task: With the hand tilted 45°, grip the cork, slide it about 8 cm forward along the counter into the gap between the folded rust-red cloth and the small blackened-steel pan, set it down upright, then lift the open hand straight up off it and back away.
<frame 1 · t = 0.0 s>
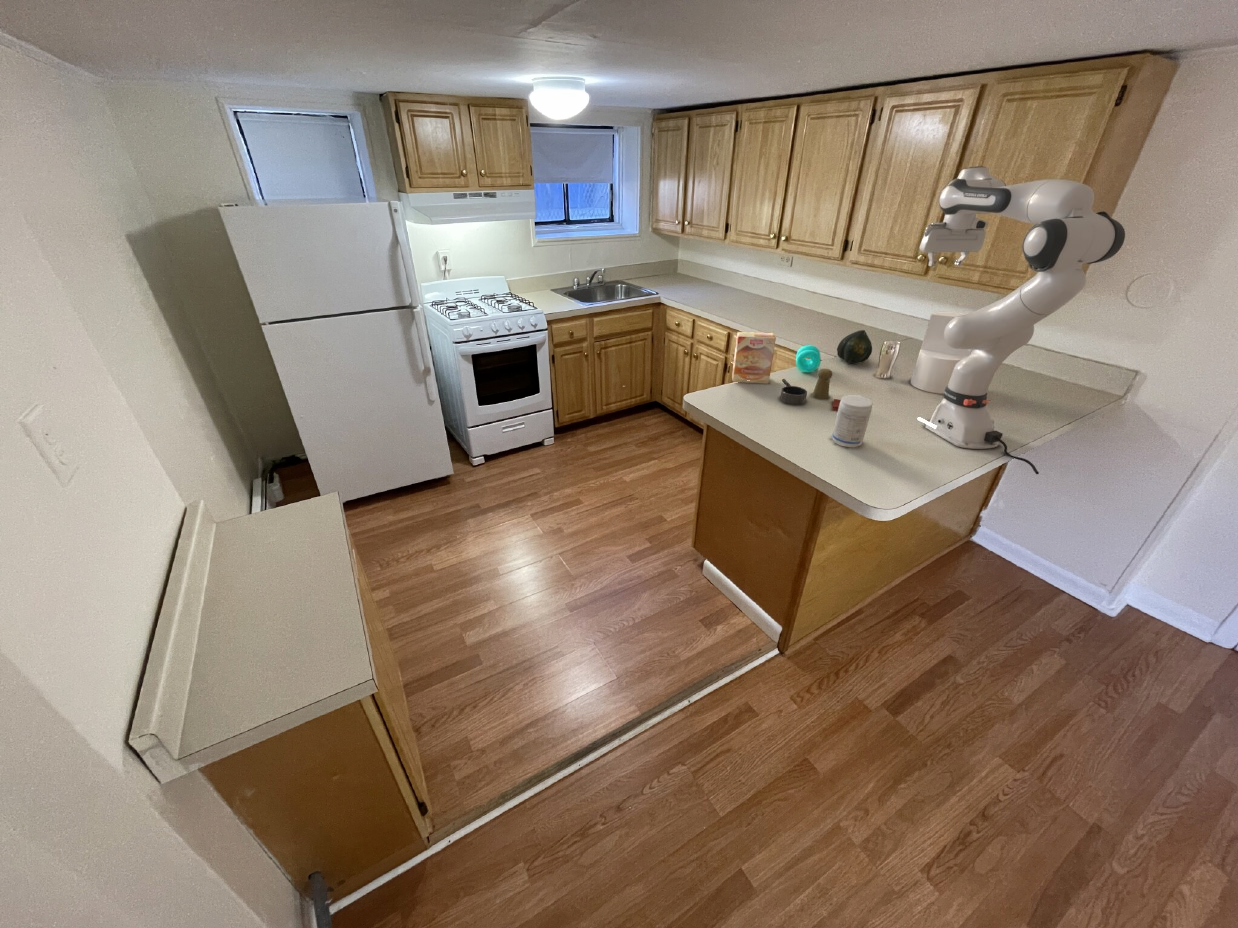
hand: (944, 266, 178), 48 cm above the counter, tool pointing down, fingers open, 8 cm apart
pan: (792, 400, 197), on the counter
beer glass: (882, 377, 218), on the counter
supplement tub: (846, 442, 168), on the counter
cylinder: (933, 386, 209), on the counter
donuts: (805, 370, 226), on the counter
coffeecake box: (749, 380, 215), on the counter
cork: (820, 396, 200), on the counter
squash: (851, 361, 235), on the counter
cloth: (842, 407, 191), on the counter
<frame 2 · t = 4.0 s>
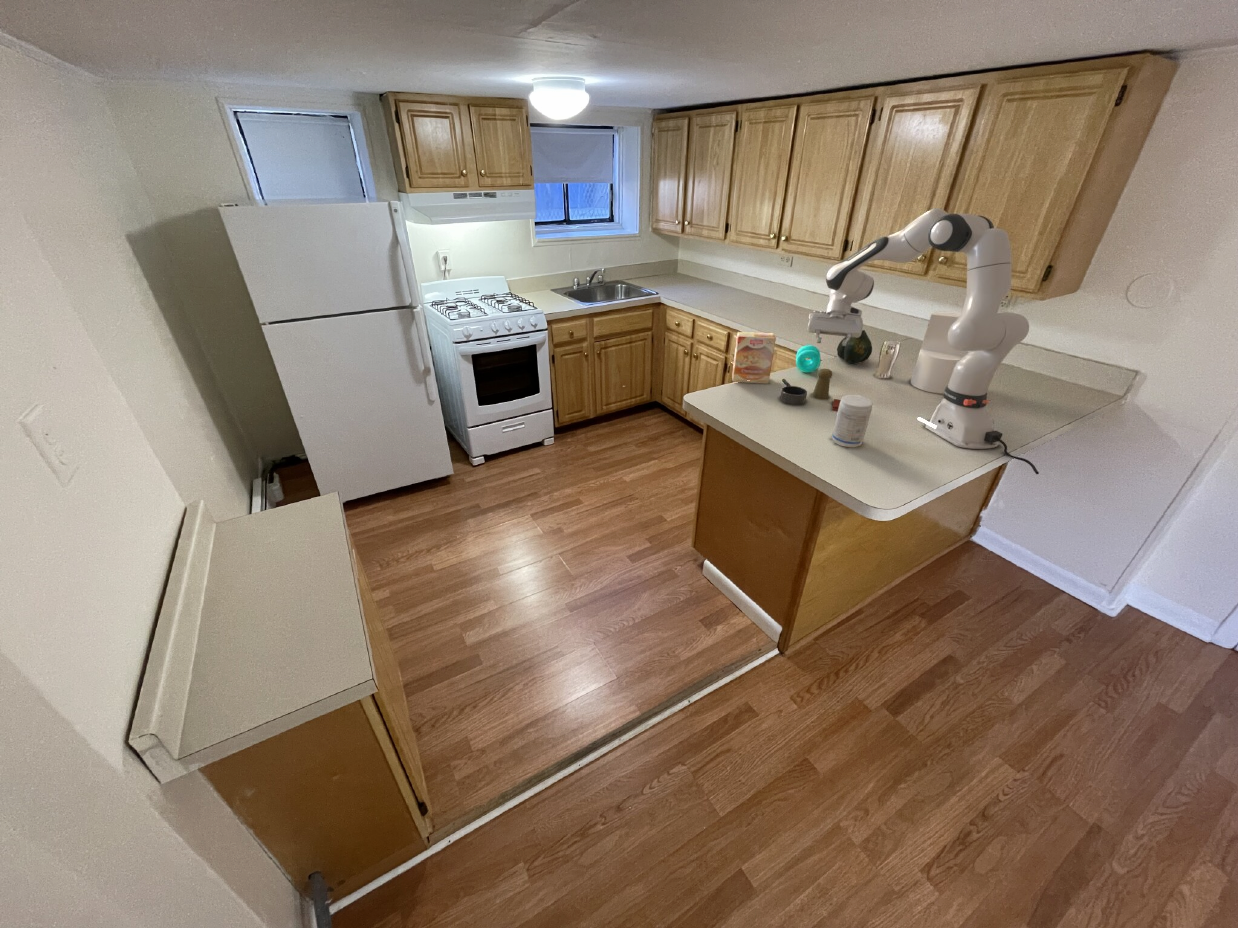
hand: (831, 343, 201), 18 cm above the counter, tool tilted 45°, fingers open, 8 cm apart
nothing on the counter moved.
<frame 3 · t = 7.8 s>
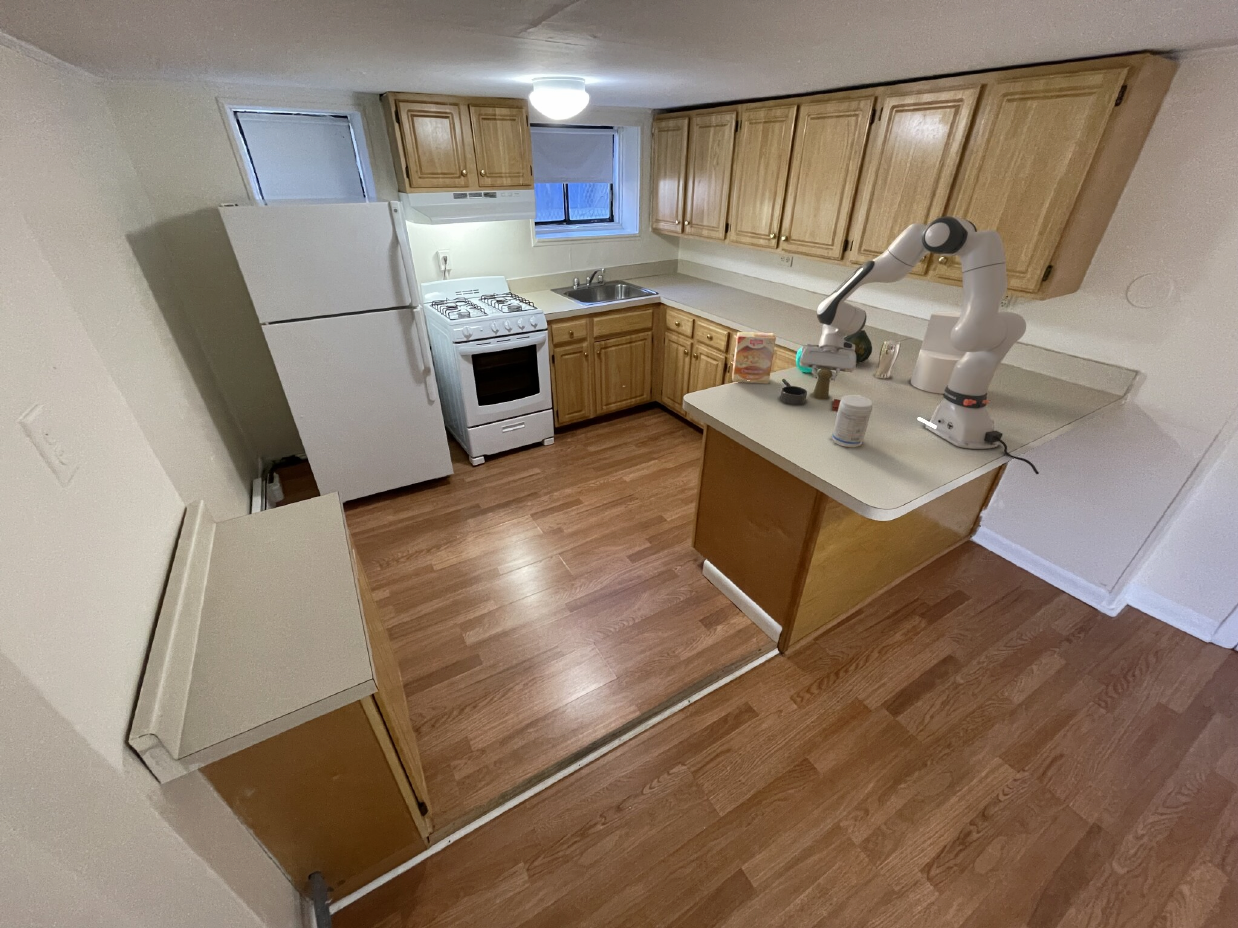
hand: (824, 378, 195), 8 cm above the counter, tool tilted 45°, fingers closed on cork, 5 cm apart
cork: (820, 396, 200), on the counter, touching gripper
everything else where it was.
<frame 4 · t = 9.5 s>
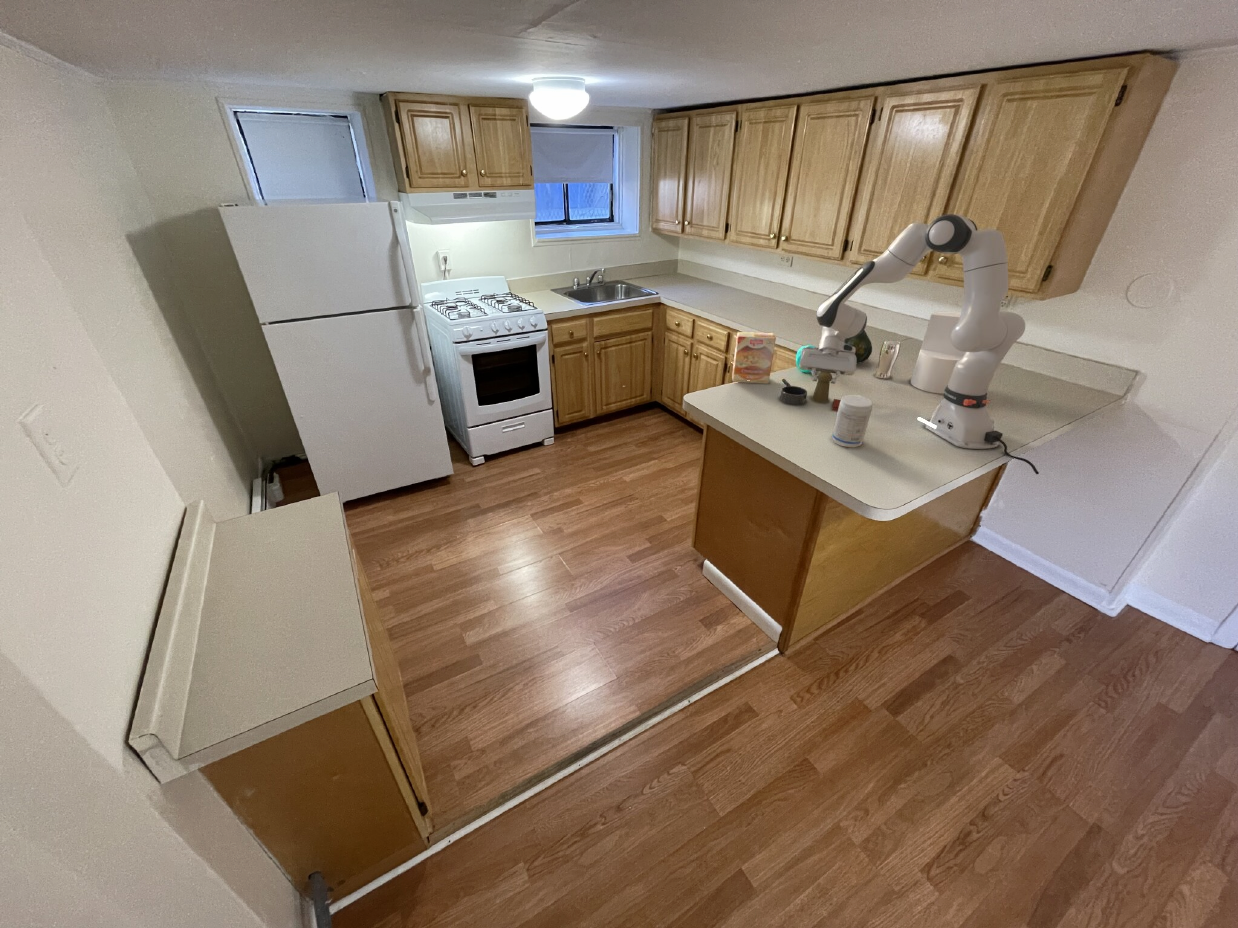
hand: (823, 381, 192), 8 cm above the counter, tool tilted 45°, fingers closed on cork, 5 cm apart
cork: (819, 399, 197), on the counter, touching gripper
everything else where it was.
when the fingers open (8 cm above the counter, at t = 11.2 s): cork stays where it is, on the counter.
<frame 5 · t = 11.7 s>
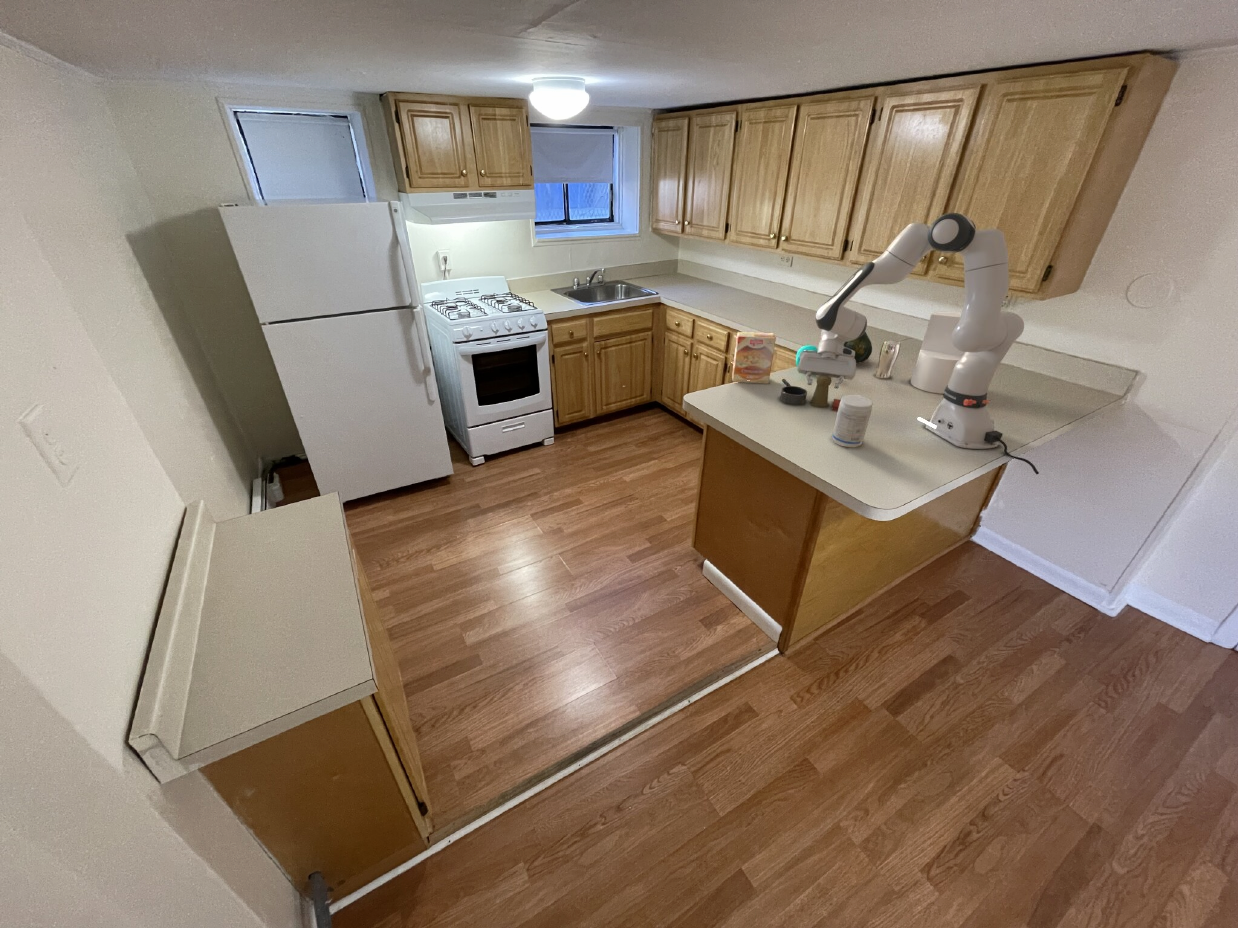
hand: (822, 386, 189), 8 cm above the counter, tool tilted 45°, fingers open, 8 cm apart
cork: (818, 404, 194), on the counter
everything else where it was.
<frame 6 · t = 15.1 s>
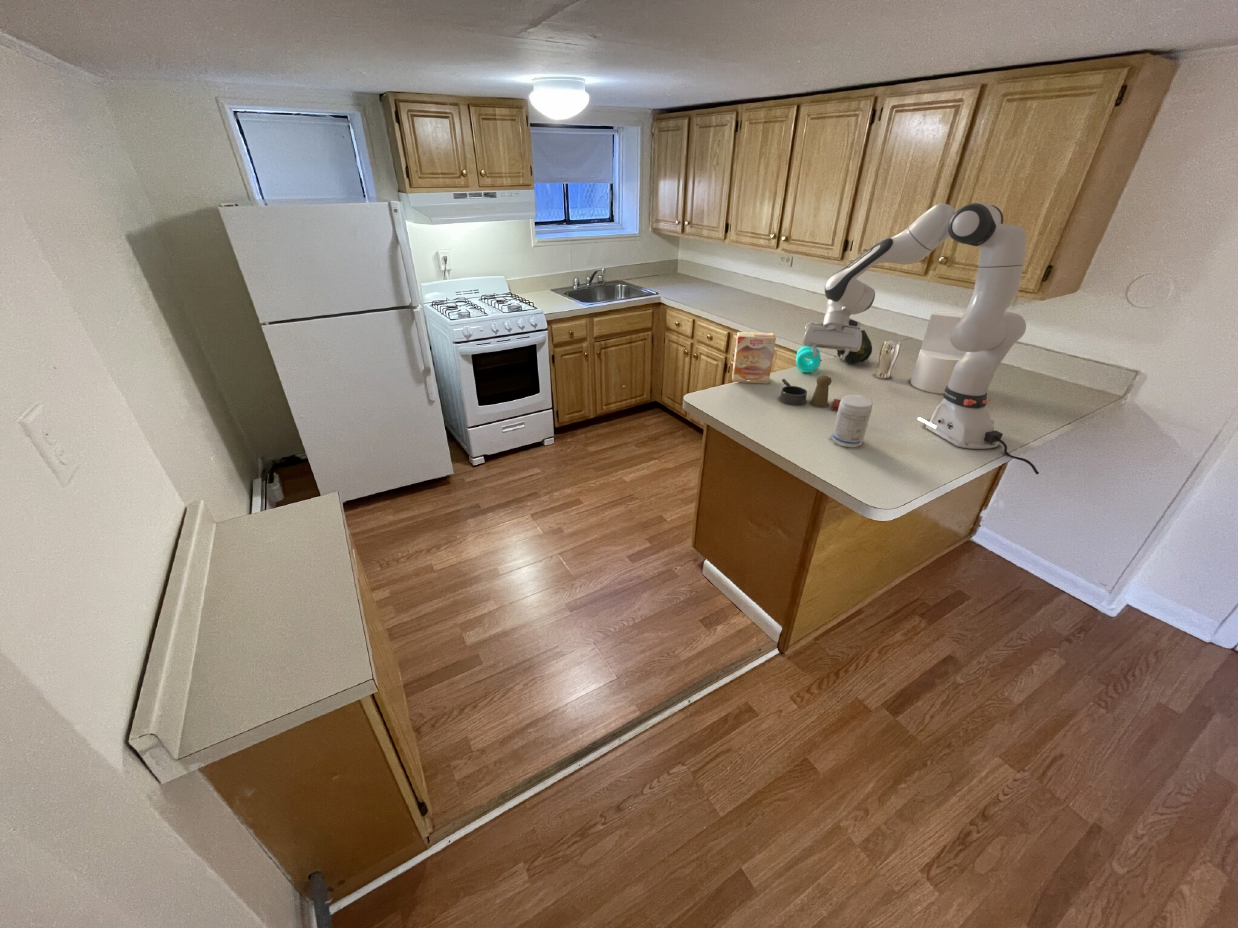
hand: (828, 358, 188), 17 cm above the counter, tool tilted 45°, fingers open, 8 cm apart
nothing on the counter moved.
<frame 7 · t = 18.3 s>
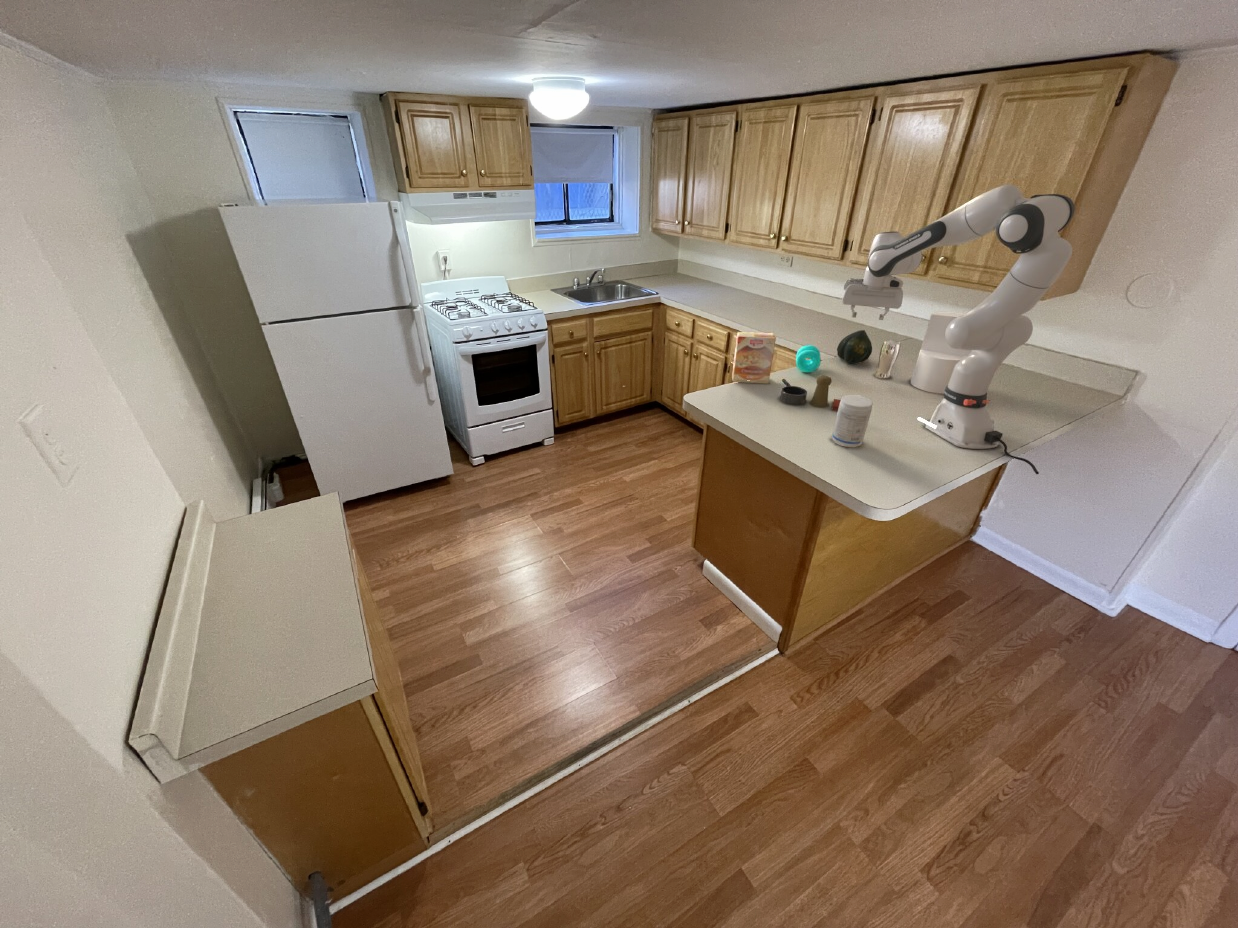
hand: (867, 318, 191), 29 cm above the counter, tool pointing down, fingers open, 8 cm apart
nothing on the counter moved.
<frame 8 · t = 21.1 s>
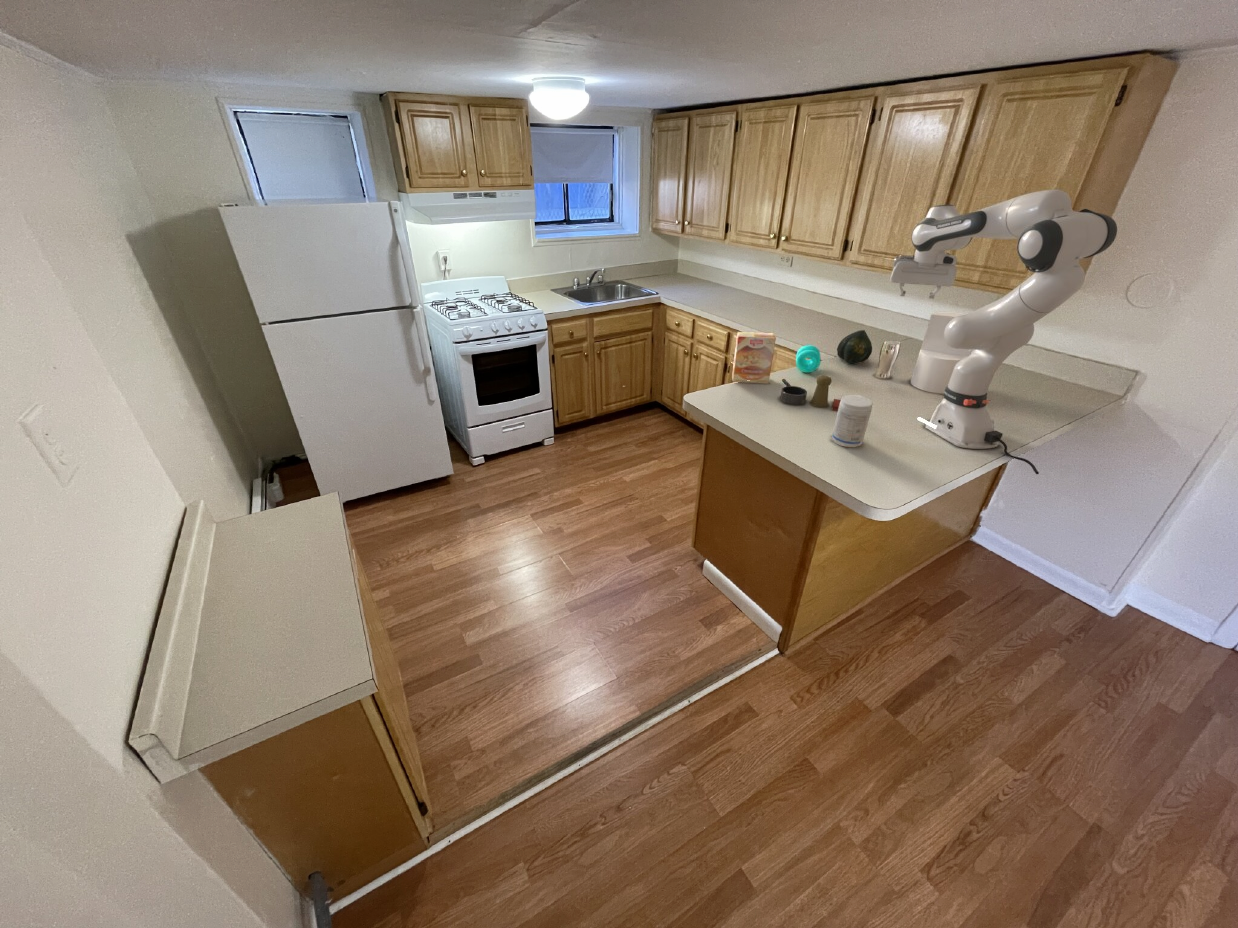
hand: (916, 297, 184), 37 cm above the counter, tool pointing down, fingers open, 8 cm apart
nothing on the counter moved.
at the end: cork 0.4 cm from the target spot, on the counter; cork tilted 0°; the gripper is holding nothing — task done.
